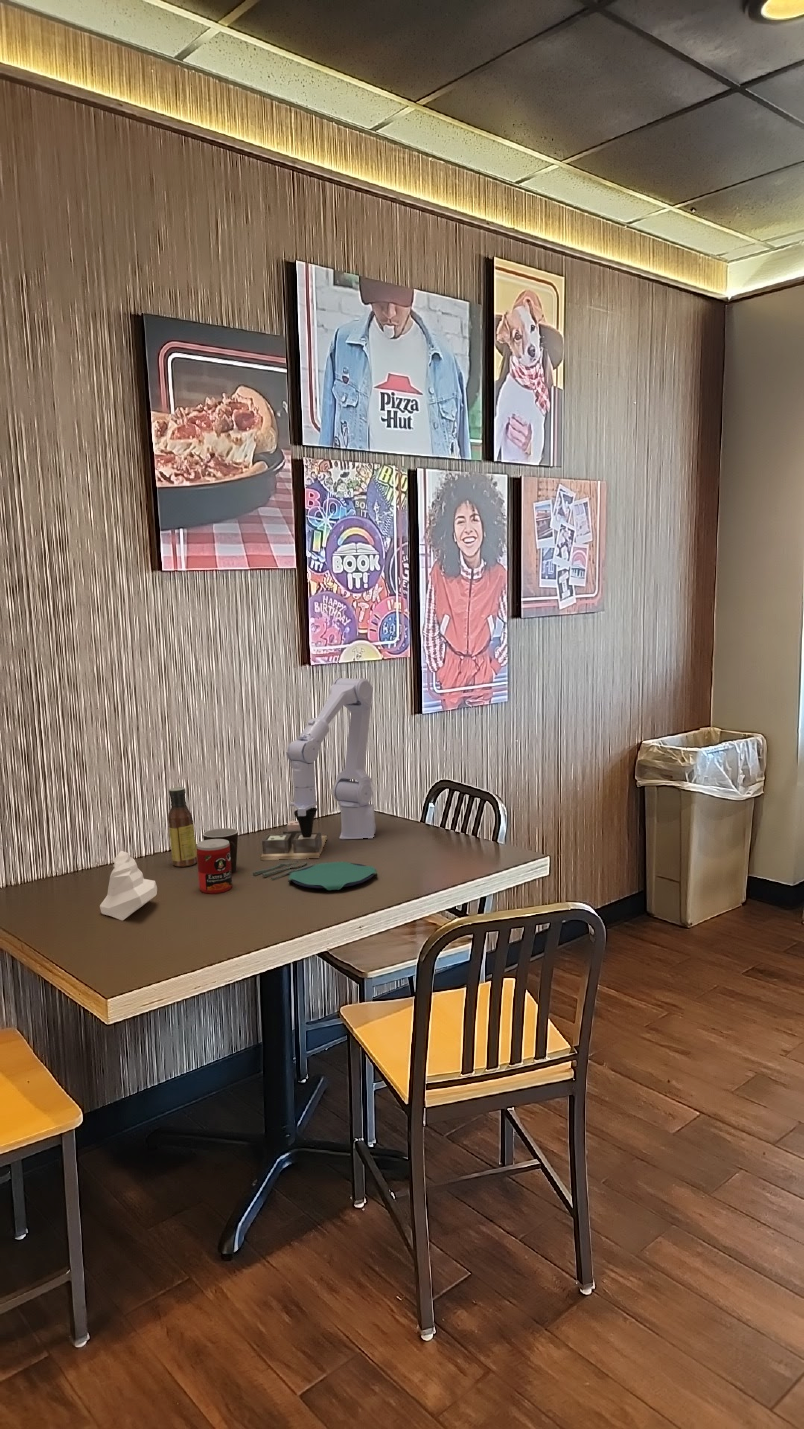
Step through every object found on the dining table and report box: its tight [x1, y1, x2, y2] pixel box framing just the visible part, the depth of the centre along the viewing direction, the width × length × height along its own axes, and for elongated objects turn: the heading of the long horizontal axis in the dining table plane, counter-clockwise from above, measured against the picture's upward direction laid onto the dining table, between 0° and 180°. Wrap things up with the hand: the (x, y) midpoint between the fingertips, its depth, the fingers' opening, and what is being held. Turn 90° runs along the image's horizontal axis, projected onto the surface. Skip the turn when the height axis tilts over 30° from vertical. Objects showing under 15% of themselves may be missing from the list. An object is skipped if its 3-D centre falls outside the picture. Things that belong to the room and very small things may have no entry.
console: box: [260, 825, 328, 861], centre depth 256 cm, size 15×19×4 cm
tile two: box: [268, 835, 287, 840], centre depth 252 cm, size 4×4×3 cm
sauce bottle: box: [167, 786, 198, 868], centre depth 245 cm, size 6×6×20 cm
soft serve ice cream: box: [99, 850, 158, 921], centre depth 212 cm, size 12×15×14 cm
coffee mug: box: [202, 827, 239, 874], centre depth 237 cm, size 12×9×10 cm
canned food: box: [196, 839, 233, 894], centre depth 225 cm, size 8×8×11 cm
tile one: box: [298, 834, 317, 839], centre depth 252 cm, size 4×4×3 cm
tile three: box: [286, 820, 301, 831], centre depth 261 cm, size 4×4×3 cm
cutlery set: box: [252, 860, 378, 891], centre depth 231 cm, size 20×30×2 cm, turn 50°
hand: (307, 836), depth 252 cm, fingers closed, pressing on tile one
